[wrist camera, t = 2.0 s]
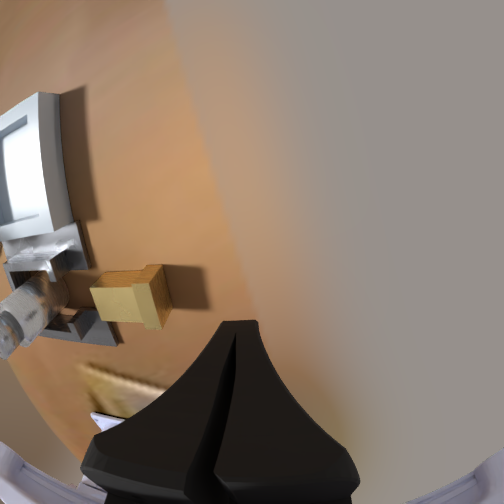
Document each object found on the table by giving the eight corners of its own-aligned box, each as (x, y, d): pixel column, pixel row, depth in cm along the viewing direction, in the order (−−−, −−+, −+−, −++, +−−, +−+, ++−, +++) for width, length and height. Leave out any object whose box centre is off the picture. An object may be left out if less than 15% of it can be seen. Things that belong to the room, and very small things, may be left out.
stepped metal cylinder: (75, 307, 16) (21, 371, 10) (47, 305, 16) (-4, 361, 10) (60, 266, 15) (-6, 323, 8) (33, 268, 15) (-28, 317, 9)
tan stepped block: (172, 307, 16) (162, 329, 14) (116, 307, 16) (101, 326, 14) (162, 264, 15) (148, 283, 12) (104, 267, 15) (86, 284, 13)
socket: (119, 343, 17) (108, 361, 15) (40, 333, 17) (28, 346, 16) (79, 220, 14) (59, 230, 12) (3, 235, 14) (-13, 244, 12)
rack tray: (73, 221, 14) (54, 232, 12) (6, 234, 14) (-11, 243, 12) (59, 94, 11) (38, 91, 9) (-8, 134, 11) (-26, 137, 9)
